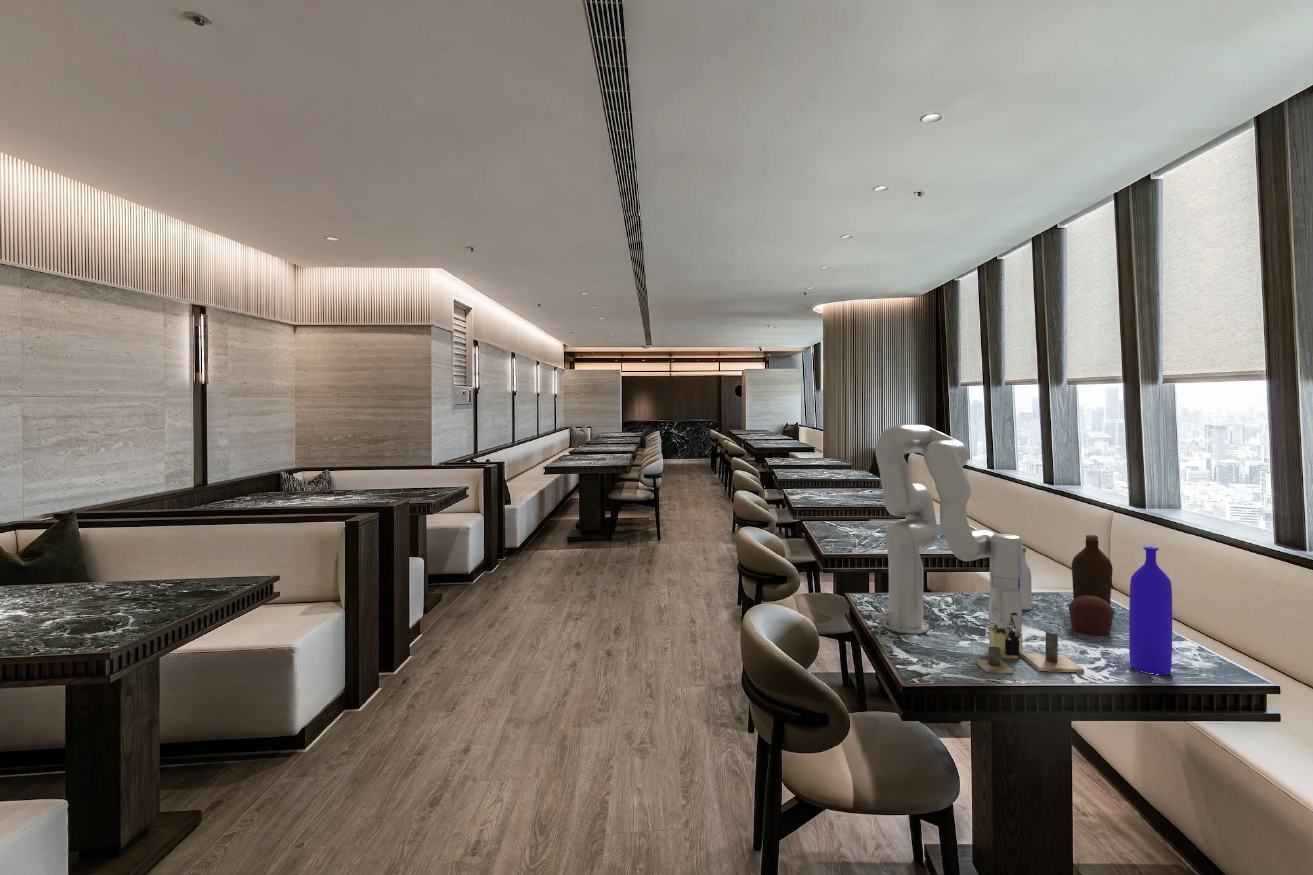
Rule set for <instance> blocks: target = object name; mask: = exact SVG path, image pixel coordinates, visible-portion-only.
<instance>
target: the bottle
mask: <svg viewBox="0 0 1313 875" xmlns="http://www.w3.org/2000/svg"><path fill="white" fill-rule="evenodd" d="M1142 548H1143V550H1145V561H1144V563H1143V565H1142V566H1140V567H1139V568H1138V569H1137V570H1136V571H1134V572H1133V574H1132V575H1131V577H1130V584H1129V604H1128V605H1129V607H1128V608H1129V610H1128V612H1129V613H1128V615H1129V617H1128V618H1129V621H1128V623H1129V625H1128V626H1129V627H1128V630H1129V631H1128V639H1129V640H1128V646H1129V647H1128V648H1129V650H1128V651H1129V664H1130V665H1129V666H1130V667H1131V669H1132V668H1133V670H1134V669H1136V670H1138V671H1143V672H1147V673H1153V674H1159V675H1167V676H1169V675H1170V674H1171V672H1172V662H1173V661H1172V660H1173V588H1172V582H1171V579H1170V578H1169V577H1168V575H1167V574H1166V573H1165V572H1164V570H1162V568H1160V566H1159V565H1158V563H1157V551H1159V550H1160V549H1159V547H1157V546H1153V545H1151V546H1150V545H1145V546H1143V547H1142ZM1136 670H1135V671H1136ZM1138 671H1137V672H1138ZM1168 674H1169V675H1168Z"/></svg>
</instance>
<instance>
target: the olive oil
mask: <svg viewBox="0 0 1313 875" xmlns="http://www.w3.org/2000/svg"><path fill="white" fill-rule="evenodd" d="M1113 569H1114V568H1113V564H1112V562H1111V560H1110V558H1109V557H1108V556H1107V555H1106V554H1105V553H1104V552H1103V551H1101V549H1100V548H1099V536H1098V535H1093V534H1086V535H1085V547H1084V548H1083V549H1082V550H1080V551H1079V552H1078V553H1077V554H1076V555H1074V557H1073V558H1072V561H1071V576H1072V577H1071V578H1072V596H1073V598H1072V601H1073V600H1074V599H1075V598H1077V597H1080V596H1085V595H1091V596H1096V597H1099V598H1101V599H1103V600H1105V601H1106V602H1107V603H1108V604H1109V605H1110V606H1111V598H1112V597H1111V596H1112V580H1113Z"/></svg>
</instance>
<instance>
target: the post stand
mask: <svg viewBox="0 0 1313 875" xmlns="http://www.w3.org/2000/svg"><path fill="white" fill-rule="evenodd" d="M1058 634H1059V633H1058V632H1056V631H1049V630H1048V631H1045V653H1026V652H1022V653H1021V657H1020V658H1021V659H1023V660H1025V661H1026V662H1027V663H1028V664H1029V665H1031V666H1032V667H1033V668H1034V669H1035V670H1037V671H1038V672H1039V671H1048V672H1047V673H1059V672H1077V673H1076V674H1085V668H1083V667H1081V666H1080V665H1079V664H1078V663H1075V662H1074V661H1073V660H1071V659H1070V658H1068V657H1067V656H1066V655H1064V654H1058V653H1059V641H1058V640H1059V635H1058Z"/></svg>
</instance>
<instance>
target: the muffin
mask: <svg viewBox="0 0 1313 875" xmlns="http://www.w3.org/2000/svg"><path fill="white" fill-rule="evenodd" d="M1067 606H1068V612H1069V618H1070V621H1071V623H1070V624H1071V627H1072V628H1071V629H1072V630H1074V631H1075V632H1076V633H1079V634H1084V635H1086V636H1095V637H1107V636H1108V635H1110V633H1111V629H1112V626H1113V625H1112V624H1113V620H1114V619H1113V618H1114V615H1115V614H1116V612H1115V610H1114V609H1113V607H1112V606H1111V604H1110V605H1109V604H1108V603H1107V602H1106V601H1105V600H1103V599H1101V598H1099V597H1096V596H1091V595H1085V596H1080V597H1077V598H1075V599H1074V600H1073V599H1072V600H1071V602H1070V603H1069V604H1068V605H1067Z"/></svg>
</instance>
